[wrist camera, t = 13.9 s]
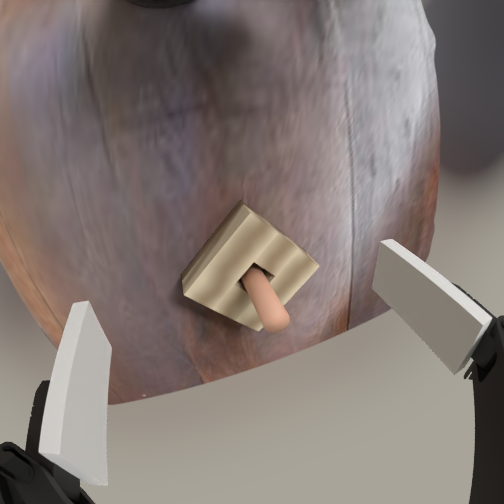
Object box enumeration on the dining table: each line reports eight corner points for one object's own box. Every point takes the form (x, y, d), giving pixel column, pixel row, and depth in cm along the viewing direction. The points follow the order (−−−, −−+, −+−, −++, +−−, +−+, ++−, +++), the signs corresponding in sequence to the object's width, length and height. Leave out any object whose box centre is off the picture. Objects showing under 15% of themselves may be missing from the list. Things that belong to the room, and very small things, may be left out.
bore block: (181, 274, 47) (183, 295, 42) (240, 200, 44) (250, 212, 39) (249, 311, 55) (258, 331, 50) (304, 250, 52) (319, 266, 47)
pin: (233, 271, 48) (258, 327, 36) (247, 255, 47) (276, 307, 35) (249, 281, 49) (276, 335, 38) (262, 265, 49) (294, 317, 37)
